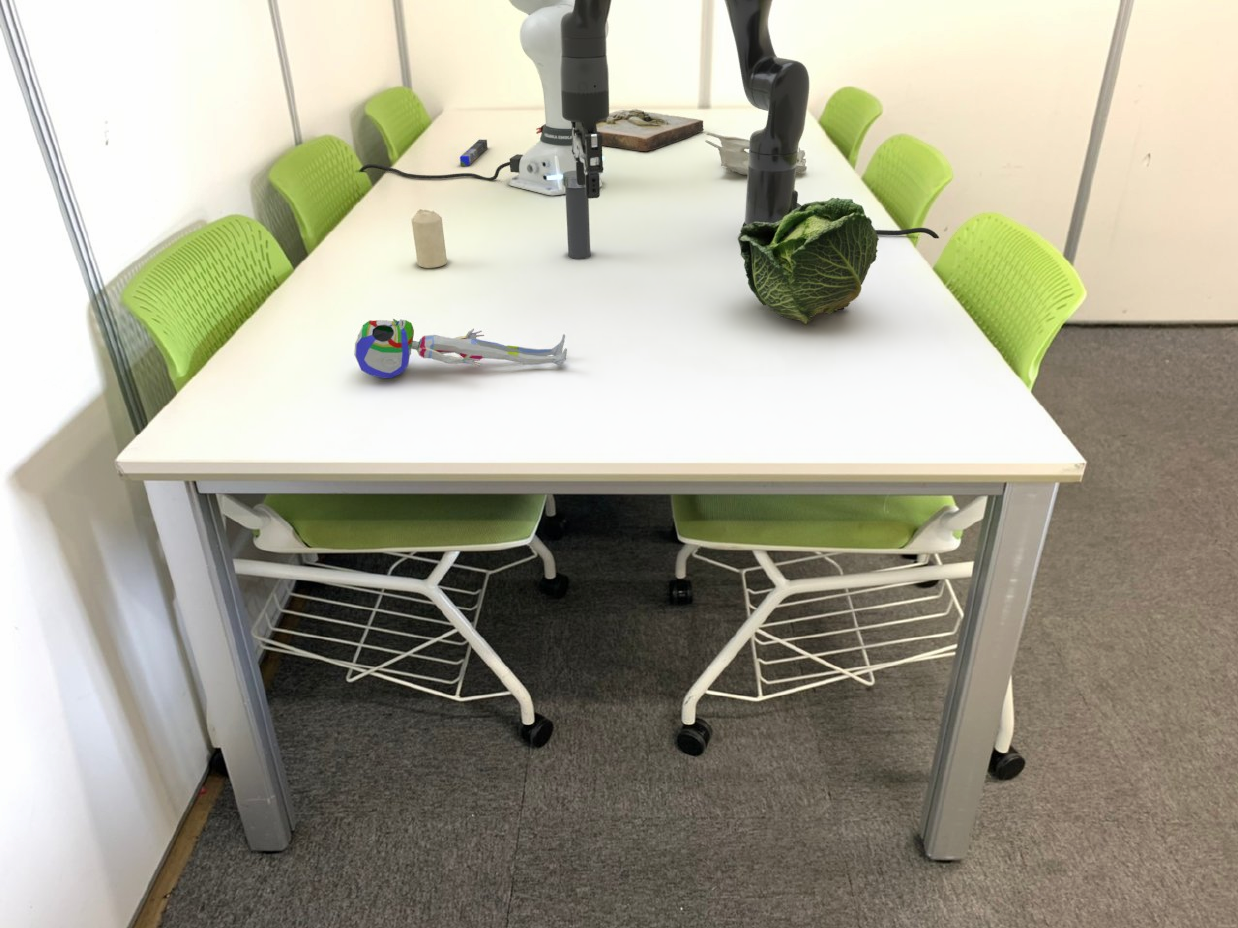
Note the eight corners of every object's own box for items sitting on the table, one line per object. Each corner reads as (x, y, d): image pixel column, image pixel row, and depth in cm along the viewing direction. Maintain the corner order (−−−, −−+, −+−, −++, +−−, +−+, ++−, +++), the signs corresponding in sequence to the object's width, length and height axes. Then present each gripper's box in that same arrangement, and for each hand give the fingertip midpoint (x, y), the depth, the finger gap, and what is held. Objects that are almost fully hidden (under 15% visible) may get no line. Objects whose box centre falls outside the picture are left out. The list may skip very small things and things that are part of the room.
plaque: (647, 125, 237) (559, 112, 252) (647, 153, 241) (560, 139, 256) (706, 107, 258) (622, 97, 273) (705, 133, 262) (622, 121, 277)
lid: (590, 180, 168) (589, 170, 167) (590, 188, 164) (590, 177, 163) (562, 181, 168) (562, 170, 167) (562, 189, 164) (562, 178, 163)
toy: (569, 347, 126) (349, 329, 122) (563, 400, 131) (350, 385, 126) (565, 318, 135) (359, 301, 130) (559, 369, 139) (360, 354, 134)
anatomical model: (707, 129, 226) (808, 127, 222) (707, 166, 231) (805, 165, 227) (703, 143, 213) (809, 141, 210) (703, 182, 218) (807, 181, 215)
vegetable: (766, 338, 156) (713, 238, 148) (856, 276, 157) (807, 174, 149) (821, 359, 137) (763, 246, 129) (922, 289, 138) (870, 173, 131)
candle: (452, 259, 172) (446, 207, 166) (438, 269, 167) (431, 216, 162) (426, 257, 173) (419, 205, 168) (412, 266, 169) (404, 213, 163)
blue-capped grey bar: (486, 139, 247) (467, 157, 231) (487, 147, 249) (468, 166, 232) (479, 139, 248) (459, 157, 231) (479, 147, 249) (460, 166, 232)
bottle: (590, 251, 175) (587, 173, 167) (590, 258, 172) (588, 179, 164) (568, 252, 175) (564, 173, 167) (568, 259, 171) (564, 180, 163)
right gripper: (617, 93, 135) (619, 201, 144) (599, 78, 147) (601, 178, 155) (568, 95, 134) (572, 204, 142) (554, 80, 145) (558, 181, 154)
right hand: (587, 190), depth 149 cm, fingers open, 8 cm apart
